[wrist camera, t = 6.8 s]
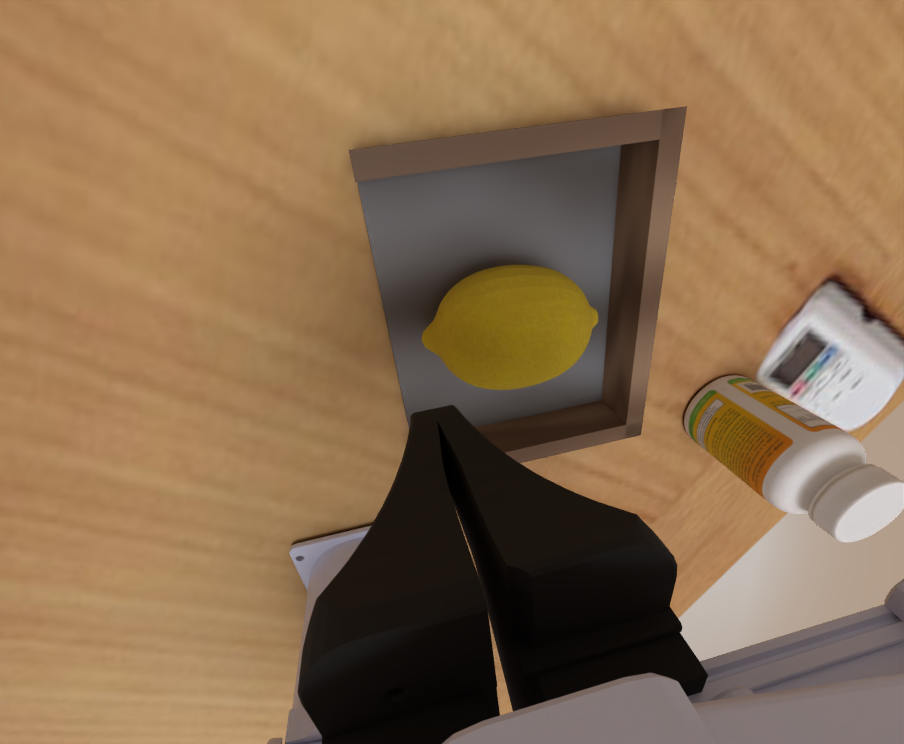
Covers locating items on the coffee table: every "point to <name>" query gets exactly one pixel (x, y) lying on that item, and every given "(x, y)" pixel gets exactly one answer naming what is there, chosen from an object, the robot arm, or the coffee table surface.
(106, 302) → the coffee table surface
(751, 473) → the supplement bottle
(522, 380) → the lemon
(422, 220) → the box
